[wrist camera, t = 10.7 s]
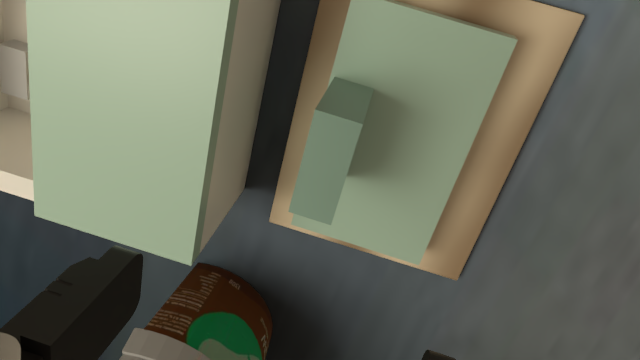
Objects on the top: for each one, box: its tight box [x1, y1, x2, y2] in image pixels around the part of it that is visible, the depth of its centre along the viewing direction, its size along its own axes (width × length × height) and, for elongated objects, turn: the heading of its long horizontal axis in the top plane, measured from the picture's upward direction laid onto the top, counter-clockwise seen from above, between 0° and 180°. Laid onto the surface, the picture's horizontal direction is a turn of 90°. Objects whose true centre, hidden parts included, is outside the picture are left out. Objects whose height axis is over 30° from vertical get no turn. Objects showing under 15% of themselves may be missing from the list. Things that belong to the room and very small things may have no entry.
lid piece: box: [288, 0, 518, 265], centre depth 24 cm, size 8×13×7 cm, turn 166°
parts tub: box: [0, 0, 281, 266], centre depth 25 cm, size 16×13×8 cm
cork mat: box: [269, 0, 585, 280], centre depth 27 cm, size 12×16×1 cm
